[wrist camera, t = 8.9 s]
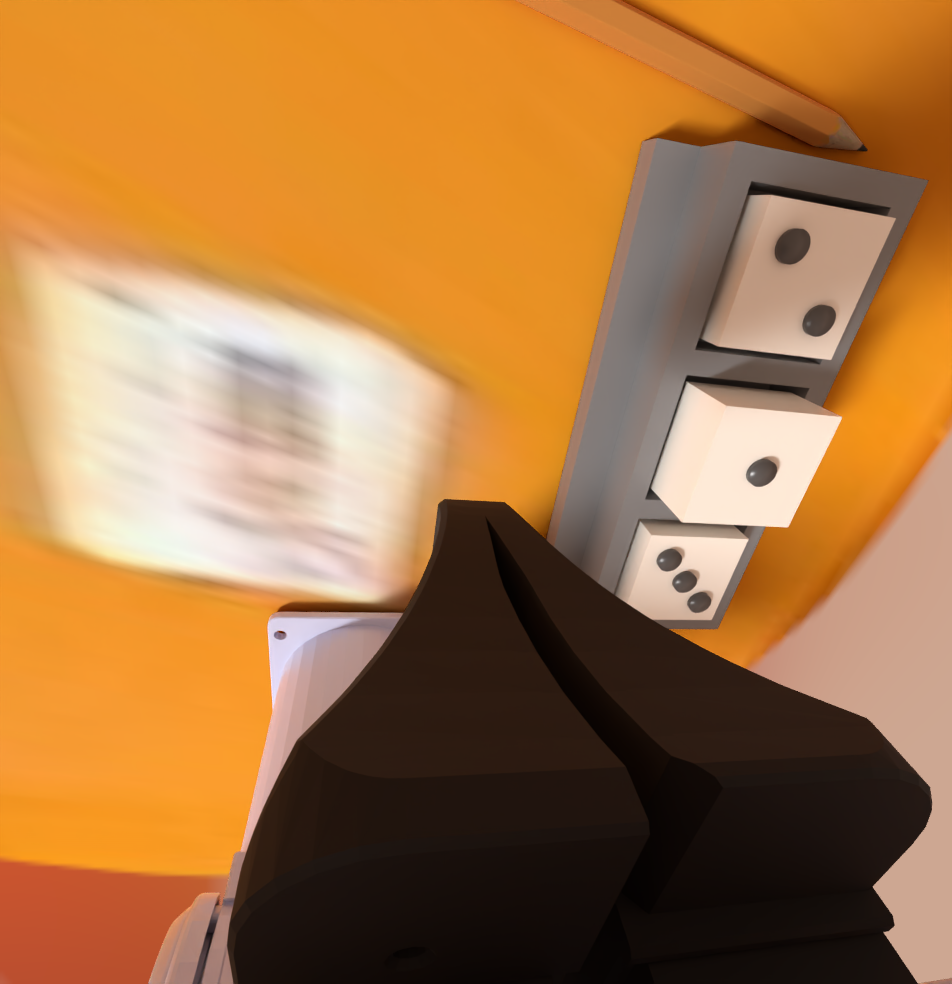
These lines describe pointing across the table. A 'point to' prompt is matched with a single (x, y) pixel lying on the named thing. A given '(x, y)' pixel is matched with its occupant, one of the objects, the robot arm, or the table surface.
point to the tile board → (690, 332)
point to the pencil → (702, 68)
